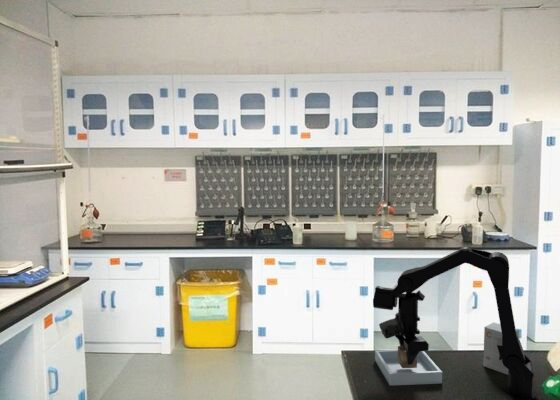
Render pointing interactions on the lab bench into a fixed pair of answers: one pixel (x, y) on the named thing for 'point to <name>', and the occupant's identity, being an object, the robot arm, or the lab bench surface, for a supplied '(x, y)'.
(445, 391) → the lab bench surface
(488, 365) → the small box
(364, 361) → the lab bench surface
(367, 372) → the lab bench surface
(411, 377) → the sorting tray
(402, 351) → the walnut block
